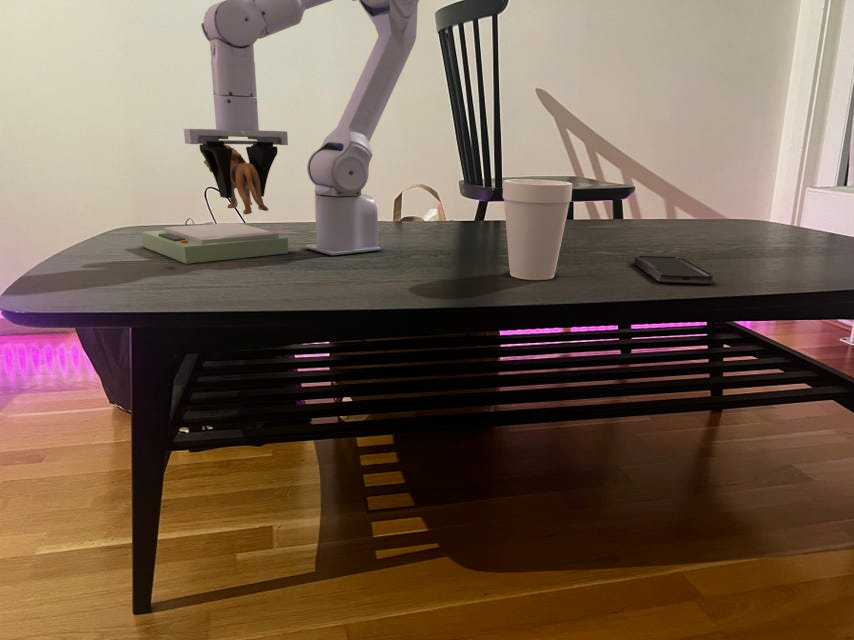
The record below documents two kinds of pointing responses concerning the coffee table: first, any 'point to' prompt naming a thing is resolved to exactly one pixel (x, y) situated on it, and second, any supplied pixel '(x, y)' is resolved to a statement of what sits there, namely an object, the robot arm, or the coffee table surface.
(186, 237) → the kitchen scale
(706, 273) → the phone
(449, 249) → the coffee table surface
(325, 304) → the coffee table surface
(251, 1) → the robot arm
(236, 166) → the lion figurine
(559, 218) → the foam cup
